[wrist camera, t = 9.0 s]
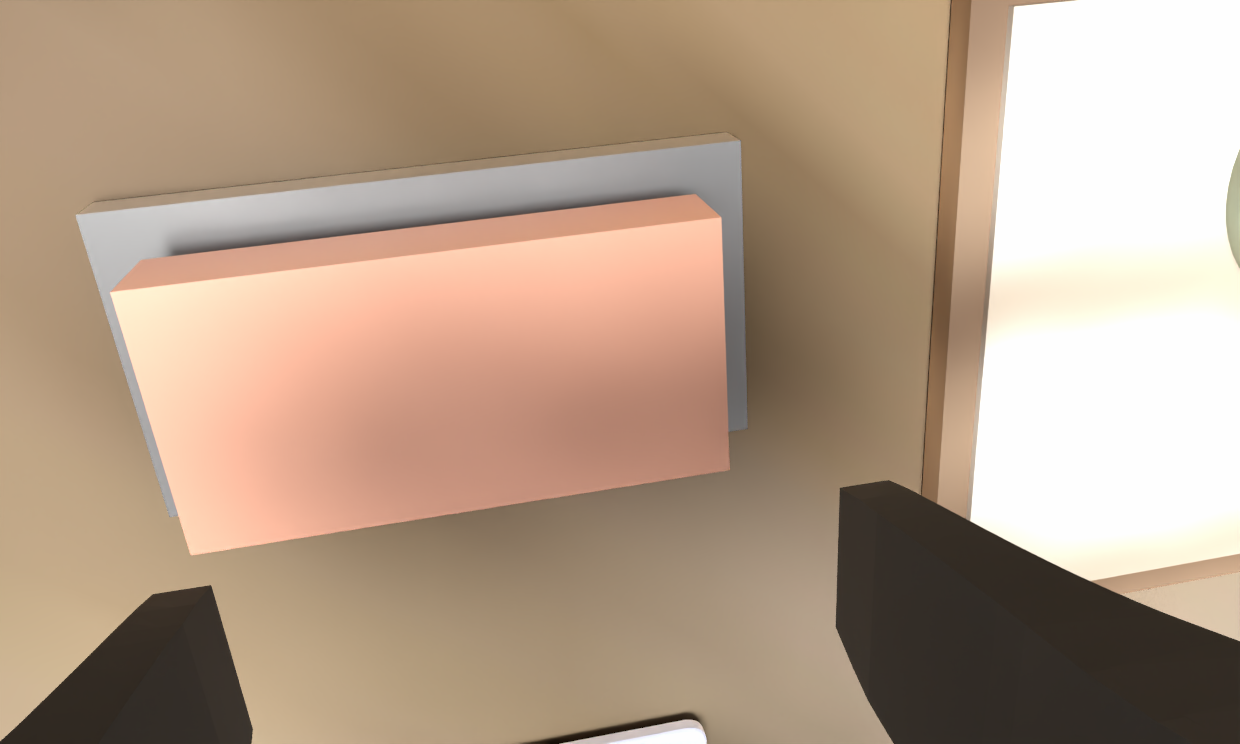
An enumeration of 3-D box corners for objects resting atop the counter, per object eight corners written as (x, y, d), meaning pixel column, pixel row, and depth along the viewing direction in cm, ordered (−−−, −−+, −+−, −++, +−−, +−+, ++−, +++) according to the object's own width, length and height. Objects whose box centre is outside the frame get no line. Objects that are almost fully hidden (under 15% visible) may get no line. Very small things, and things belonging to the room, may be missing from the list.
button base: (735, 409, 23) (747, 429, 22) (180, 492, 21) (169, 517, 20) (726, 132, 20) (740, 140, 19) (92, 202, 18) (75, 214, 17)
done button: (705, 428, 20) (729, 470, 19) (211, 503, 19) (190, 555, 17) (695, 193, 18) (721, 217, 17) (140, 260, 17) (109, 292, 15)
